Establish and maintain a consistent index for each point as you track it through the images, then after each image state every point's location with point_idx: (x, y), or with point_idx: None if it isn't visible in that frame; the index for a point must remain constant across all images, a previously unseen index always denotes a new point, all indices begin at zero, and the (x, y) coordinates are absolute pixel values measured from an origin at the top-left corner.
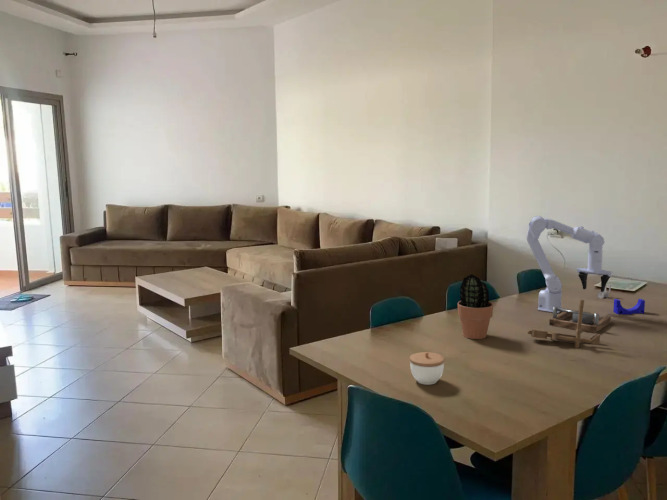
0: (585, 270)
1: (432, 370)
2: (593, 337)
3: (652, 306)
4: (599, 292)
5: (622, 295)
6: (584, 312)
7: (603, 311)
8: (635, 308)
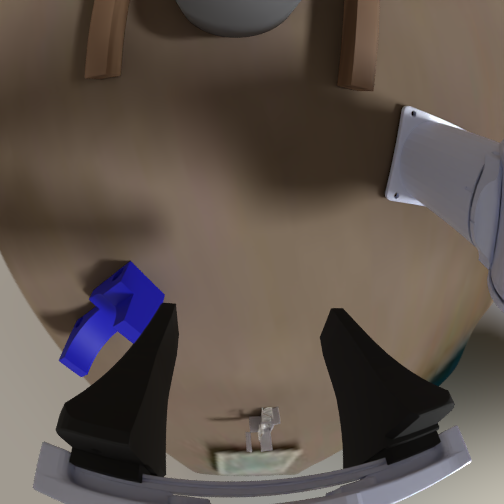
0: (405, 491)
1: None
2: None
3: None
4: (274, 423)
5: (223, 434)
6: (243, 19)
7: (201, 274)
8: (90, 328)
